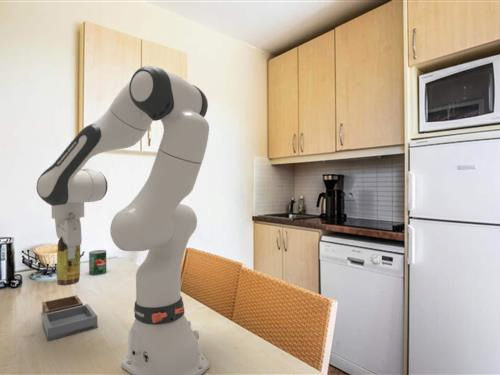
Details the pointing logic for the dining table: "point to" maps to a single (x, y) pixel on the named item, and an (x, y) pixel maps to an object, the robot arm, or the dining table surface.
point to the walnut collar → (60, 304)
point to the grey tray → (69, 321)
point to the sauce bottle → (67, 265)
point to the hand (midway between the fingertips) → (68, 256)
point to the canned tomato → (97, 262)
